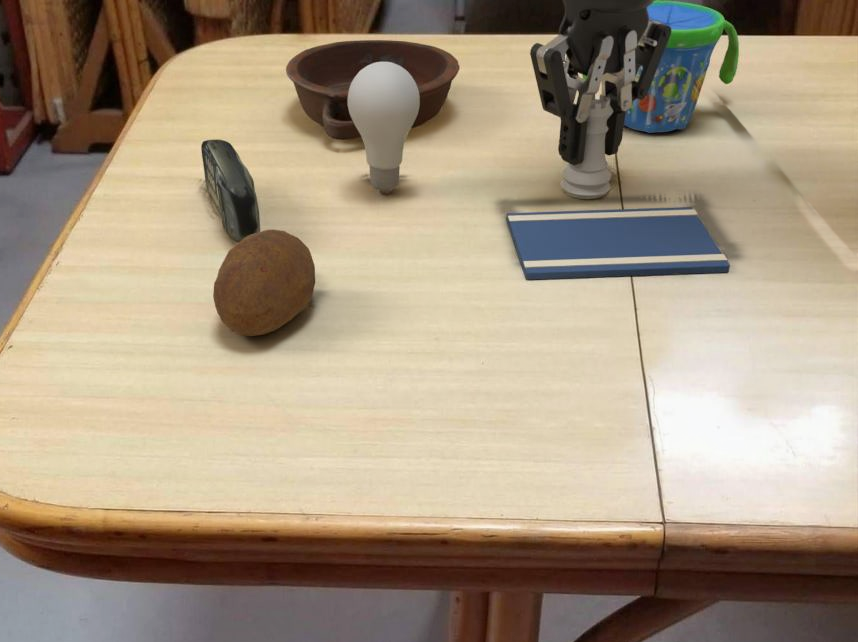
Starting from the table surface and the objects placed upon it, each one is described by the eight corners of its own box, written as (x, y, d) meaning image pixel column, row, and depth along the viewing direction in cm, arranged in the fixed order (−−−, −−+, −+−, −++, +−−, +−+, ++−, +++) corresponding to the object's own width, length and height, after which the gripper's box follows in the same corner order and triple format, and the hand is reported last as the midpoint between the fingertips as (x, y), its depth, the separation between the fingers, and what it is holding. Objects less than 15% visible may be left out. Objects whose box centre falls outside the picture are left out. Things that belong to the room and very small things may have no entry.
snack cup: (708, 100, 113) (727, -5, 106) (745, 137, 105) (769, 26, 98) (563, 108, 111) (574, 2, 105) (591, 146, 103) (604, 33, 97)
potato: (196, 344, 76) (183, 262, 72) (252, 282, 83) (244, 204, 79) (281, 359, 74) (274, 276, 70) (332, 294, 81) (328, 216, 77)
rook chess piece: (559, 199, 94) (568, 106, 89) (560, 179, 98) (569, 88, 92) (610, 202, 94) (622, 108, 88) (610, 181, 97) (621, 90, 92)
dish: (473, 84, 117) (475, 35, 114) (438, 160, 101) (439, 106, 98) (319, 74, 120) (316, 26, 117) (261, 147, 104) (256, 94, 101)
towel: (690, 213, 92) (692, 205, 92) (728, 272, 84) (730, 264, 83) (506, 219, 91) (506, 211, 91) (526, 280, 83) (526, 271, 83)
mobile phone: (194, 136, 93) (231, 198, 82) (228, 132, 94) (269, 193, 83) (201, 192, 96) (238, 259, 85) (234, 187, 97) (275, 253, 86)
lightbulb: (408, 175, 98) (408, 49, 91) (427, 202, 94) (429, 71, 87) (344, 182, 97) (339, 55, 90) (359, 210, 93) (355, 78, 86)
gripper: (577, -43, 77) (554, 190, 88) (715, -68, 83) (678, 153, 94) (512, -63, 82) (499, 161, 93) (647, -85, 88) (619, 127, 99)
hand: (589, 155), depth 94 cm, fingers open, 3 cm apart
